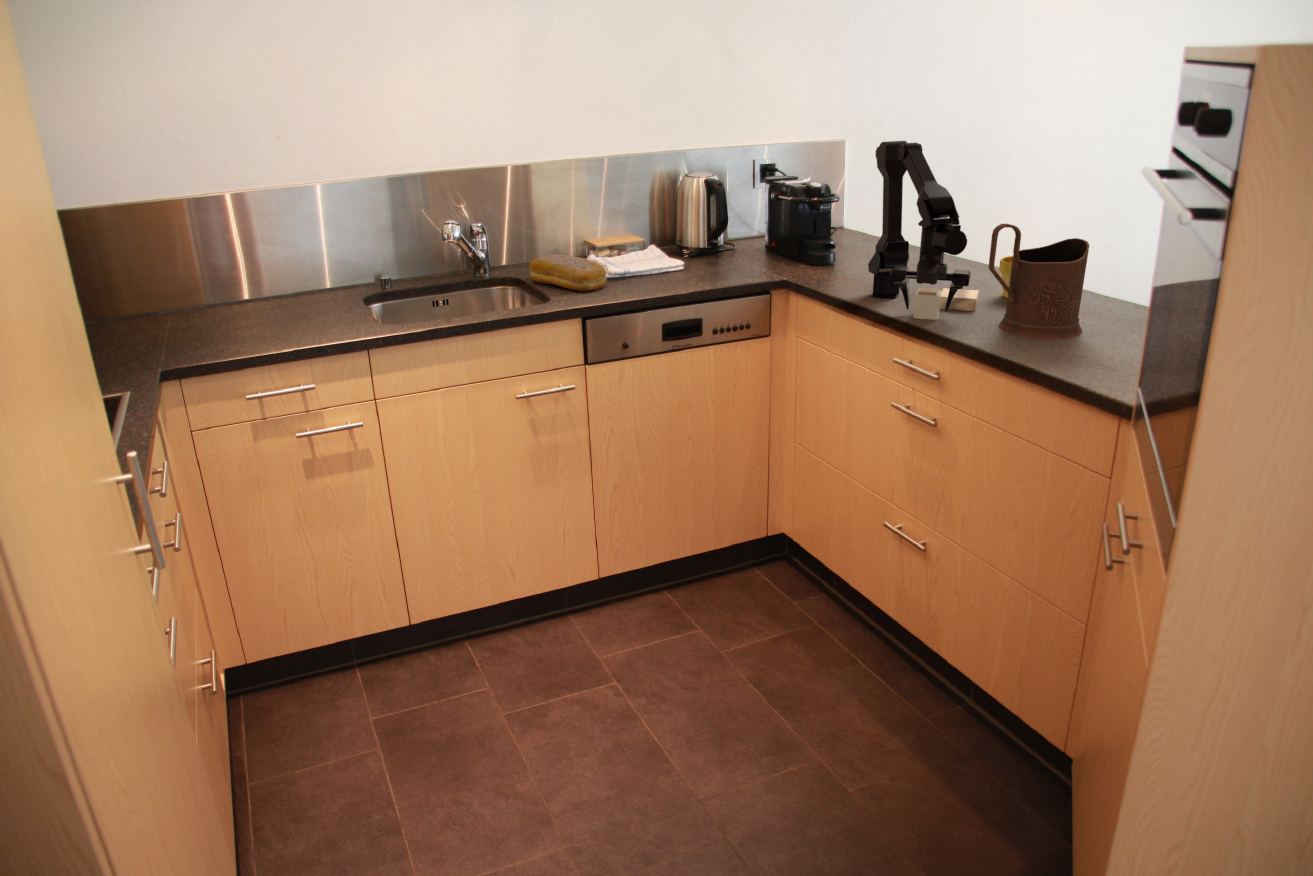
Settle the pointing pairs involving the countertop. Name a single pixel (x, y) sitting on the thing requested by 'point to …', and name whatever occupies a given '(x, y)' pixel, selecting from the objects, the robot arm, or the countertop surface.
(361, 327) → the countertop surface
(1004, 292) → the plant pot
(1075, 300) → the cup holder
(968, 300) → the beech block
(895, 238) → the robot arm
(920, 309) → the cream lidded box
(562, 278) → the bread
